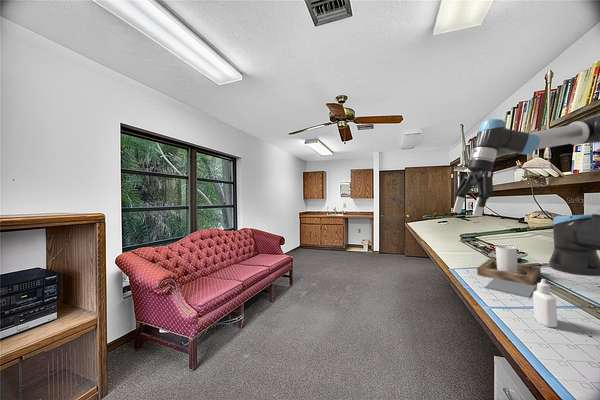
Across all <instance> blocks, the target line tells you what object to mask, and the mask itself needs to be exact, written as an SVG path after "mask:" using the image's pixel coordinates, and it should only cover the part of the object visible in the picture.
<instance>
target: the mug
mask: <svg viewBox="0 0 600 400" xmlns="http://www.w3.org/2000/svg"><path fill="white" fill-rule="evenodd" d="M495 260H497V268H496V270H500V271H506V272H512V273H517V274H519V273H518V272H519V271H518V268H517V263H518V247H517V246H513V245H509V244H508V245H506V244H505V245H504V244H499V245H495Z"/></svg>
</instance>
